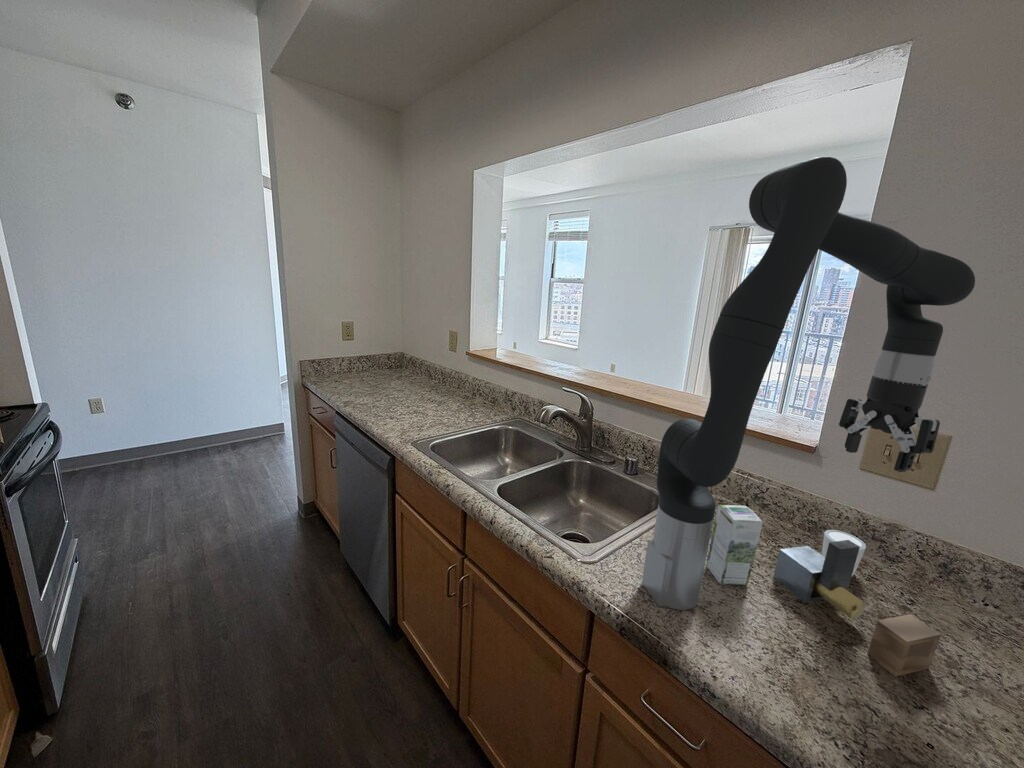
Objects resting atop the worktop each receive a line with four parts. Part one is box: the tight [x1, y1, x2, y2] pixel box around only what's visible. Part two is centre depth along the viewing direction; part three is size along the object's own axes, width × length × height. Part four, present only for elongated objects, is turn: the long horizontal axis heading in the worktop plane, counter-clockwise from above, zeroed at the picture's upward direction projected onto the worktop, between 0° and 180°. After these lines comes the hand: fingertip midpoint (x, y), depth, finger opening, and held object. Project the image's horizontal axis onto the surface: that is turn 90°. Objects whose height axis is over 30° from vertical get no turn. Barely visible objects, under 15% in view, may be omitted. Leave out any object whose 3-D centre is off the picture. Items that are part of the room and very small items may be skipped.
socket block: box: [866, 614, 942, 677], centre depth 64 cm, size 4×7×6 cm, turn 104°
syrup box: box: [705, 504, 764, 586], centre depth 80 cm, size 6×6×14 cm
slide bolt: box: [813, 540, 866, 620], centre depth 76 cm, size 13×4×12 cm, turn 14°
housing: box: [773, 545, 826, 604], centre depth 79 cm, size 7×7×6 cm
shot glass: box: [821, 529, 867, 578], centre depth 86 cm, size 7×7×7 cm
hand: (874, 461), depth 77 cm, fingers open, 8 cm apart
